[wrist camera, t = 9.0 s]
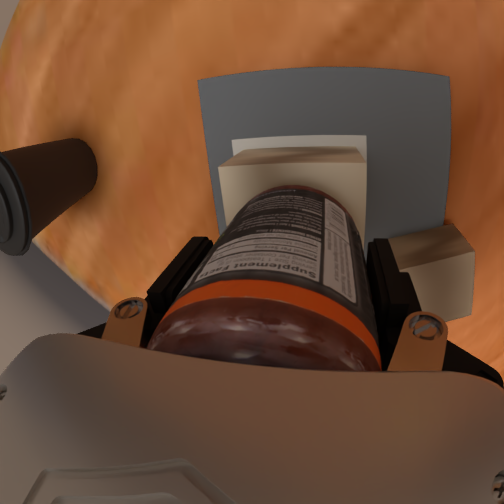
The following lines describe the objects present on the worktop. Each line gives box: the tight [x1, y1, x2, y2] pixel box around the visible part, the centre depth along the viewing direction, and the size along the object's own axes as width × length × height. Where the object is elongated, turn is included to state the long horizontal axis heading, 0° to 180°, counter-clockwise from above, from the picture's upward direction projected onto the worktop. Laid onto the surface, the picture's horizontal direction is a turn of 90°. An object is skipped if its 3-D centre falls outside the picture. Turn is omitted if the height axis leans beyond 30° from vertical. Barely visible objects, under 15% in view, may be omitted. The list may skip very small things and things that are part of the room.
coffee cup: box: [0, 138, 97, 256], centre depth 18 cm, size 8×8×10 cm
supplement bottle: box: [147, 185, 382, 371], centre depth 9 cm, size 6×6×11 cm
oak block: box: [388, 224, 475, 322], centre depth 18 cm, size 5×5×4 cm
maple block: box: [218, 146, 367, 249], centre depth 17 cm, size 7×7×5 cm
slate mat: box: [198, 67, 451, 260], centre depth 19 cm, size 16×15×1 cm
